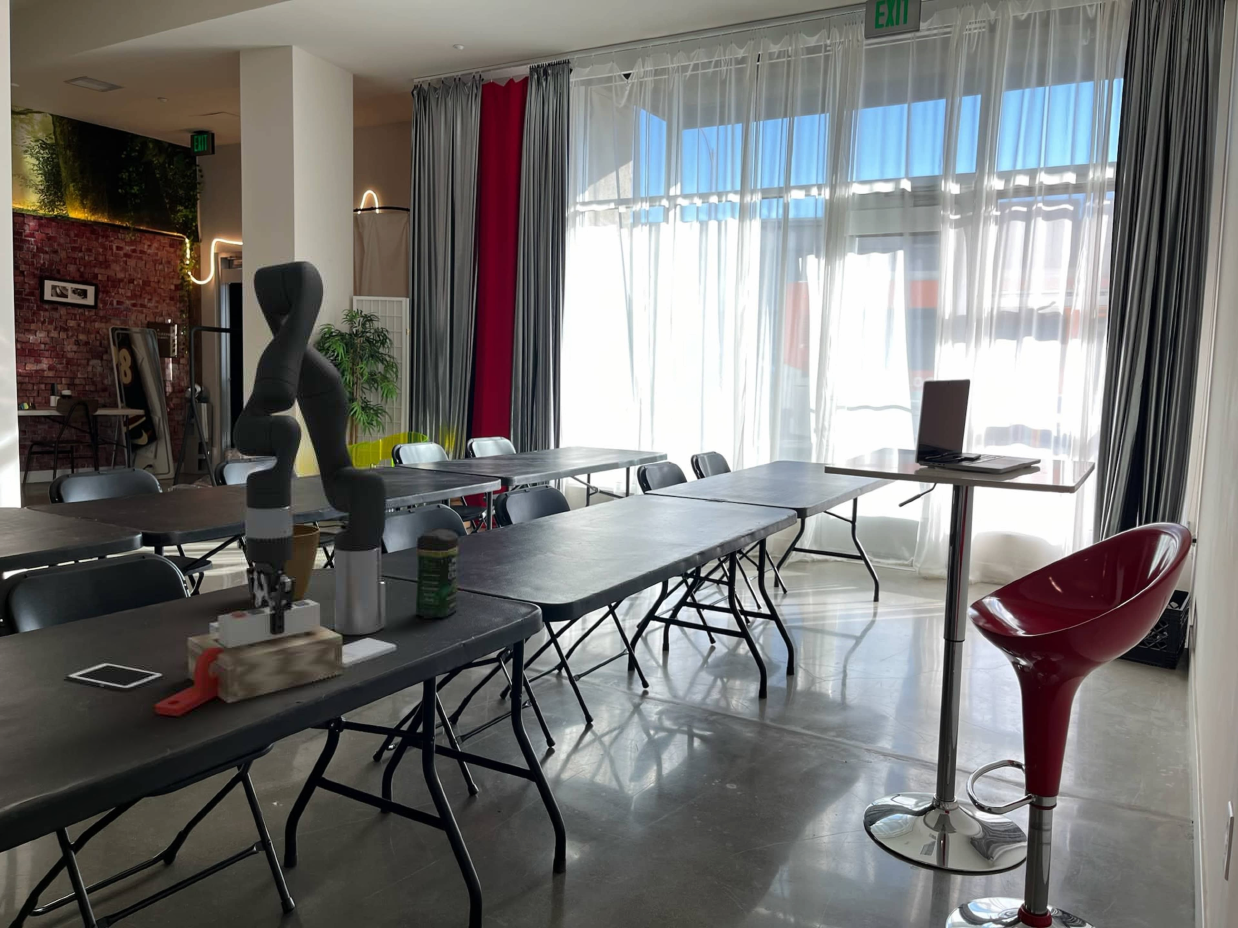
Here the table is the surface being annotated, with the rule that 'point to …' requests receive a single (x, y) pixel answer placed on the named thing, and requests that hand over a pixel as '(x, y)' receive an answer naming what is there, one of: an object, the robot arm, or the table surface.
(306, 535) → the plant pot
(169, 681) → the table surface
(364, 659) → the external hard drive
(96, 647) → the table surface
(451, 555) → the coffee jar
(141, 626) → the table surface
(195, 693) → the bracket
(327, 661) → the wooden block with holes
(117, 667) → the cell phone
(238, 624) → the power strip
